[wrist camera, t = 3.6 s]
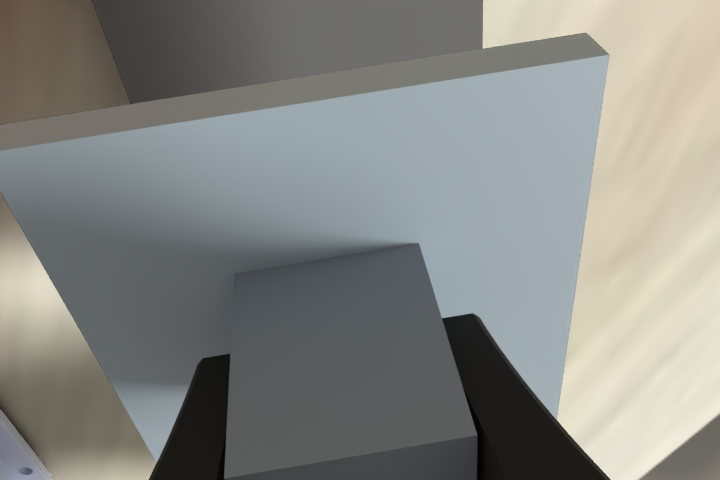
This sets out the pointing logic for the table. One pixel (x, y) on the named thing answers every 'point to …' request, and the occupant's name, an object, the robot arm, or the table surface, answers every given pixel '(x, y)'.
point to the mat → (273, 39)
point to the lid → (324, 248)
